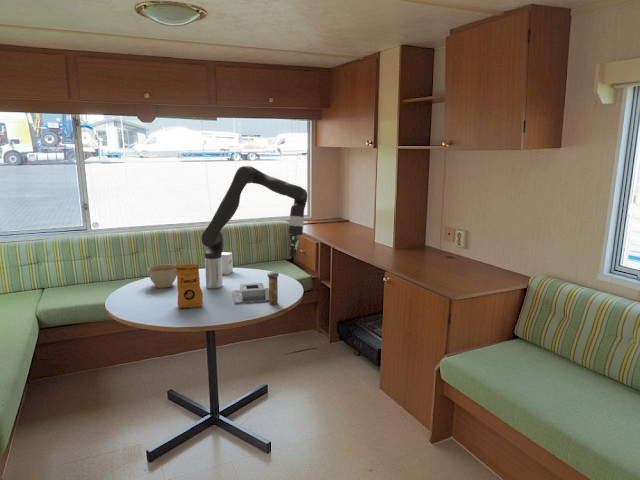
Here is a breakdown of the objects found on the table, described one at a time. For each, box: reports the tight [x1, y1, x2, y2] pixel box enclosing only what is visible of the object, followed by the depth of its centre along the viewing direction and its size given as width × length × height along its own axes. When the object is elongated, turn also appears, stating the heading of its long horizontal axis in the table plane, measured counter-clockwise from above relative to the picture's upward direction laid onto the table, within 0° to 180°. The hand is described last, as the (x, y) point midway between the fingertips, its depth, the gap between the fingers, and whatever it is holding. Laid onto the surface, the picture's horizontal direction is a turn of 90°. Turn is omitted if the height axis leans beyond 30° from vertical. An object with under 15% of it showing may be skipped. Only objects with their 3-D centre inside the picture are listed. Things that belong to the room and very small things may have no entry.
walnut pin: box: [267, 271, 280, 306], centre depth 232 cm, size 6×6×16 cm
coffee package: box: [175, 263, 204, 309], centre depth 227 cm, size 10×12×22 cm
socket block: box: [231, 282, 269, 305], centre depth 244 cm, size 20×20×6 cm
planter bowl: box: [147, 263, 177, 289], centre depth 261 cm, size 16×16×11 cm
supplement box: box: [221, 251, 234, 275], centre depth 289 cm, size 7×7×13 cm
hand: (292, 257), depth 232 cm, fingers open, 8 cm apart
